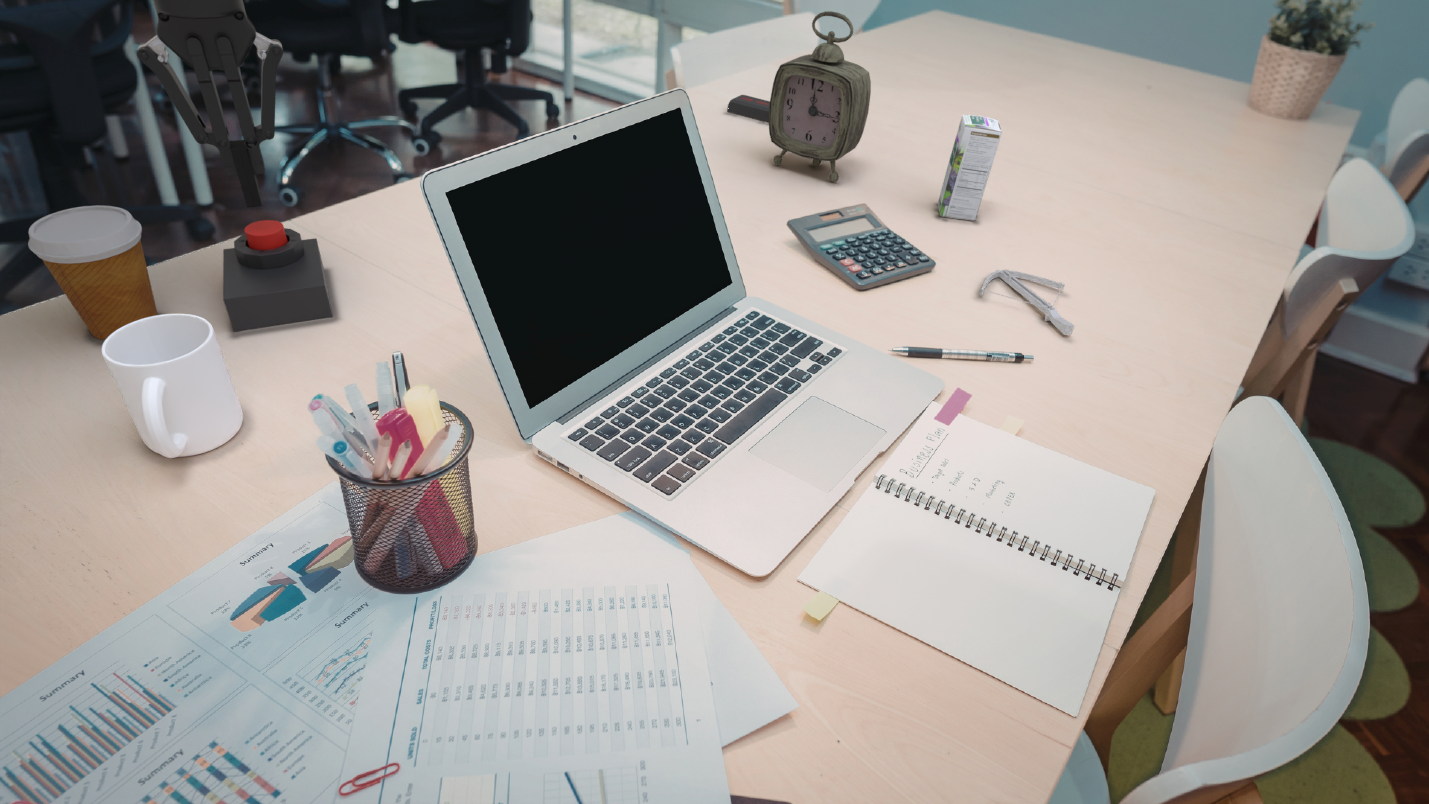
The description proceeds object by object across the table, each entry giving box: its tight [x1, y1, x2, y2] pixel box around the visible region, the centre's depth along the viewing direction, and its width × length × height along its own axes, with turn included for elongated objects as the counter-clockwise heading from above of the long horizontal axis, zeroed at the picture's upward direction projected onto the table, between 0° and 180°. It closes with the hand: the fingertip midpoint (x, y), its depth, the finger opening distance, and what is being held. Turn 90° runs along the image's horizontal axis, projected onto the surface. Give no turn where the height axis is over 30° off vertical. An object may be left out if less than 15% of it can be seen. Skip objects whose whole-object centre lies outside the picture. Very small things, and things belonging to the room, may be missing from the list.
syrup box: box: [937, 114, 1003, 222], centre depth 125 cm, size 6×6×14 cm
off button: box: [244, 219, 288, 250], centre depth 93 cm, size 4×4×2 cm
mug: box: [101, 313, 244, 459], centre depth 71 cm, size 12×8×10 cm
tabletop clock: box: [768, 10, 872, 183], centre depth 132 cm, size 14×9×25 cm, turn 58°
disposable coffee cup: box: [27, 204, 159, 341], centre depth 85 cm, size 10×10×12 cm
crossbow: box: [979, 268, 1075, 336], centre depth 107 cm, size 16×13×2 cm
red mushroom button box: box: [222, 227, 334, 333], centre depth 93 cm, size 12×10×6 cm
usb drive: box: [726, 94, 770, 123], centre depth 159 cm, size 5×12×3 cm, turn 59°
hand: (254, 201), depth 90 cm, fingers closed
